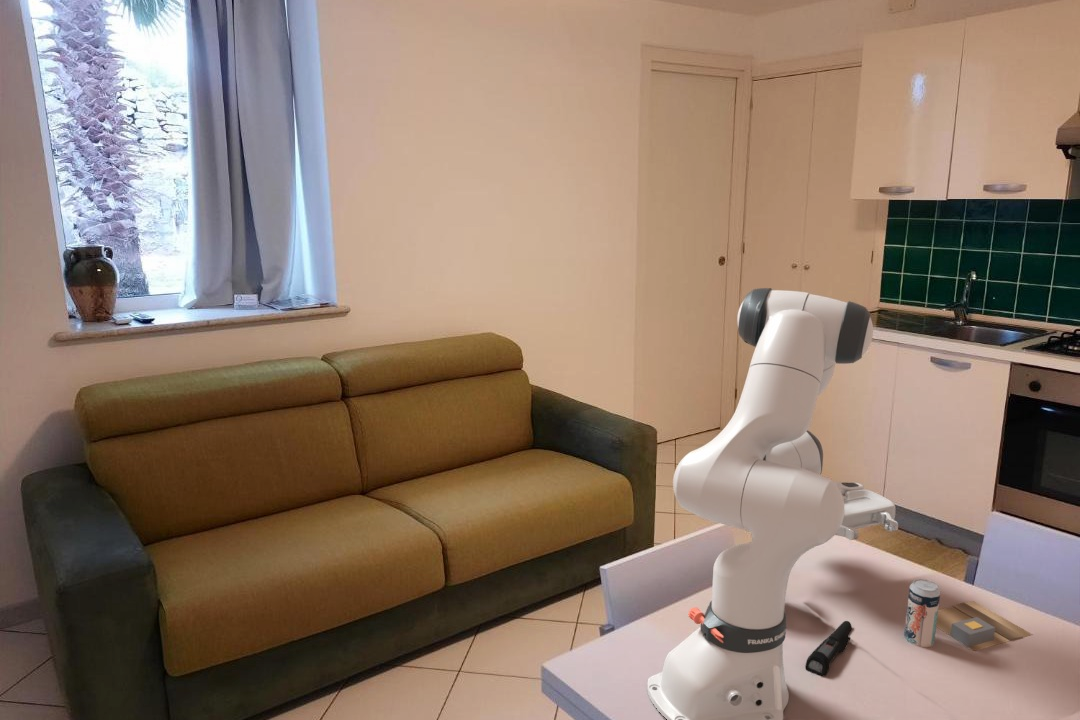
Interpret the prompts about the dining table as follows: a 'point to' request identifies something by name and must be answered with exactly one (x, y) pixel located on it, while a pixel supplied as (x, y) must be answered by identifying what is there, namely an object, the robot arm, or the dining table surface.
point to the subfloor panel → (972, 610)
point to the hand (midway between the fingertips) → (875, 531)
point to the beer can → (922, 613)
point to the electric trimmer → (829, 650)
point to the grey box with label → (972, 631)
